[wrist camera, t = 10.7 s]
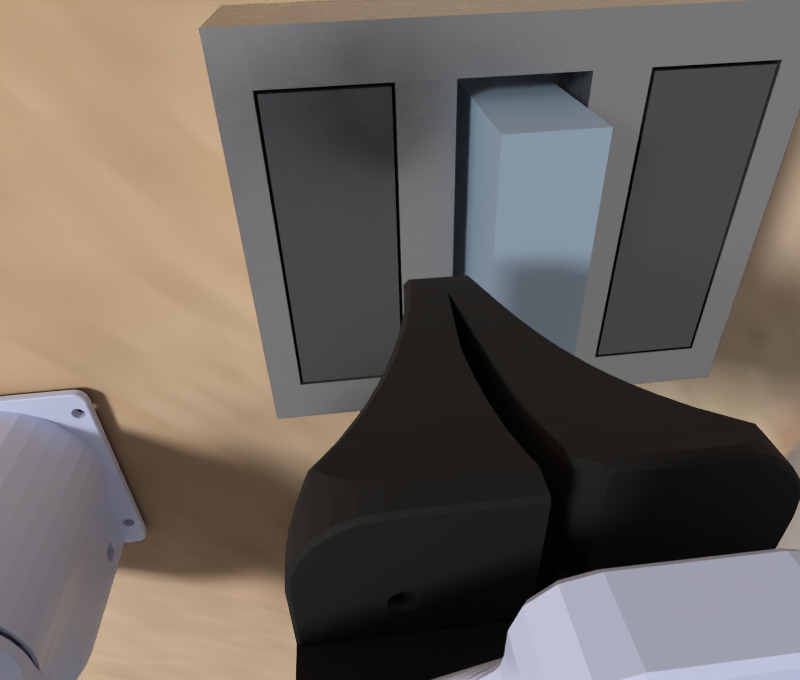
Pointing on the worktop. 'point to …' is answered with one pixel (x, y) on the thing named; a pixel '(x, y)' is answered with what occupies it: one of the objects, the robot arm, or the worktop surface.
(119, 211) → the worktop surface
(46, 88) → the worktop surface
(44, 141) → the worktop surface
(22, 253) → the worktop surface
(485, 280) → the block
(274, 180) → the rack
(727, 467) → the robot arm
